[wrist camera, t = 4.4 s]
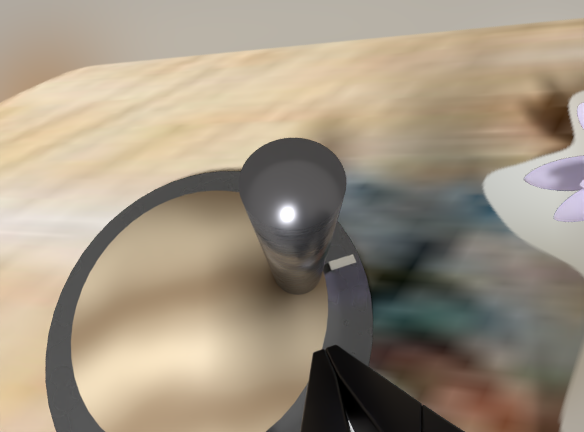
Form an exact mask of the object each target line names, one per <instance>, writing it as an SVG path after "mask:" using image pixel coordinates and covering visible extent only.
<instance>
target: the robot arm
mask: <svg viewBox="0 0 584 432" xmlns="http://www.w3.org/2000/svg"><path fill="white" fill-rule="evenodd" d="M347 417H348V418H347ZM348 419H349V421H350V423H351V425H352V427H353V429H354V431H355V432H465V431H463V430H461V429H460V428H458V427H456V426H455V425H453V424H452V423H450V422H449V421H447V420H446V419H444V418H443V417H441V416H439V415H438V414H436V413H435V412H434V411H432V410H431V409H429V408H428V407H426V406H425V405H423V406H422V404H421V403H420V402H419V401H417V400H416V399H414V398H413V397H411V396H410V395H408V394H407V393H406V392H404V391H403V390H401V389H400V388H398V387H397V386H396V385H394V384H393V383H391V382H390V381H388V380H387V379H385V378H384V377H383V376H381V375H380V374H378V373H377V372H375V371H374V370H373V369H371V368H370V367H368V366H367V365H365V364H364V363H362V362H361V361H360V360H358V359H357V358H355V357H354V356H352V355H351V354H350V353H348V352H347V351H345V350H344V349H342V348H341V347H339V346H338V345H333V346H330V347H327V348H326V349H321V350H318V351H315V352H314V353H313V356H312V362H311V368H310V374H309V380H308V386H307V393H306V399H305V405H304V411H303V417H302V423H301V430H300V432H351V430H350V426H349V422H348Z"/></svg>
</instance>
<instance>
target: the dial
mask: <svg viewBox="0 0 584 432" xmlns="http://www.w3.org/2000/svg"><path fill="white" fill-rule="evenodd" d="M345 191H346V175H345V171H344V168H343V166H342V164H341V162H340V161H339V159H338V158H337V157H336V155H335V154H334V153H333V152H332V151H330V150H329V149H328V148H326V147H325V146H323V145H321V144H319V143H317V142H315V141H312V140H308V139H303V138H284V139H279V140H275V141H272V142H270V143H267V144H265V145H264V146H262V147H260V148H259V149H257V150H256V151H255V152H254V153H253V154H252V155H251V156H250V157H249V158H248V159H247V160H246V162H245V164H244V165H243V167H242V170H241V173H240V176H239V192H232V191H204V192H196V193H192V194H187V195H183V196H180V197H177V198H174V199H171V200H169V201H167V202H164V203H162V204H160V205H158V206H156V207H154V208H152V209H151V210H149V211H147V212H146V213H144V214H143V215H141V216H140V217H138V218H137V219H136V220H134V221H133V222H132V223H130V224H129V225H128V226H127V227H126V228H125V229H124V230H123V231H121V232H120V233H119V234H118V235H117V236H116V238H115V239H114V240H113V241H112V242H111V243H110V244H109V245H108V246H107V248H106V249H105V250H104V252H103V253H102V254H101V256H100V257H99V258H98V260H97V262H96V263H95V265H94V267H93V268H92V270H91V272H90V273H89V275H88V278H87V280H86V282H85V284H84V286H83V288H82V291H81V294H80V297H79V300H78V303H77V306H76V310H75V315H74V319H73V325H72V335H71V359H72V365H73V371H74V377H75V380H76V383H77V386H78V390H79V393H80V395H81V397H82V399H83V401H84V403H85V405H86V407H87V409H88V411H89V413H90V414H91V415H92V417H93V418H94V419H95V421H96V422H97V423H98V425H99V426H100V427H101V428H102V429H103V430H104V431H105V432H266V431H267V430H268V429H269V428H270V427H271V426H273V425H274V424H275V423H276V422H277V421H278V420H280V419H281V417H282V416H283V415H284V414H285V413H286V412H287V411H288V410H289V408H290V407H291V406H292V405H293V404H294V403H295V401H296V400H297V398H298V397H299V395H300V394H301V392H302V391H303V389H304V388H305V387H306V385H307V383H308V380H309V374H310V368H311V362H312V356H313V353H314V352H315V351H318V350H321V349H322V347H323V343H324V338H325V334H326V329H327V318H328V293H327V287H326V280H325V276H324V272H323V269H324V265H325V262H326V258H327V255H328V251H329V248H330V244H331V241H332V237H333V234H334V230H335V227H336V223H337V219H338V216H339V212H340V209H341V205H342V202H343V198H344V195H345Z"/></svg>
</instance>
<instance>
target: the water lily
mask: <svg viewBox="0 0 584 432" xmlns="http://www.w3.org/2000/svg"><path fill="white" fill-rule="evenodd" d="M577 116H578V119H579V122H580V124H581V126H582V128H583V129H584V102H583V103H581V104H579V105H578V107H577ZM524 181H525V182H527V183H529V184H531V185H533V186H536V187H539V188H543V189H549V190H557V191H575V190H579V191H578V192H576V193H575V194H573V195H572V196H570V197H569V198H568V199H567V200H565V201H564V202H563V203H562V204H561V205H560V207H559V208H558V209H557V210H556V212H555V214H554V219H555V220H557V221H564V222H576V221H584V155H583V156H576V157H570V158H565V159H560V160H556V161H553V162H550V163H547V164H544V165H542V166H540V167H538V168H536V169H534V170H533V171H531V172H530V173H528V174H527V175H526V176H525V177H524Z"/></svg>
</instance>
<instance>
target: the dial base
mask: <svg viewBox="0 0 584 432" xmlns="http://www.w3.org/2000/svg"><path fill="white" fill-rule="evenodd" d="M240 173H241V171H220V172H210V173H203V174H199V175H194V176H189V177H186V178H183V179H180V180H177V181H174V182H171V183H169V184H167V185H164V186H162V187H160V188H158V189H155V190H154V191H152V192H150V193H148V194H147V195H145V196H143V197H141V198H140V199H138V200H137V201H135V202H134V203H133V204H131V205H130V206H128V207H127V208H126V209H124V210H123V211H122V212H121V213H120V214H118V215H117V216H116V217H115V218H114V219H113V220H111V221H110V222H109V223H108V224H107V225H106V226H105V227H104V228H103V230H102V231H101V232H100V233H99V234H98V235H97V236H96V237H95V238H94V240H93V241H92V242H91V243H90V245H89V246H88V247H87V249H86V250H85V251H84V252H83V254H82V255H81V257H80V259H79V260H78V262H77V263H76V265H75V267H74V268H73V270H72V271H71V273H70V275H69V277H68V279H67V281H66V283H65V285H64V288H63V290H62V292H61V295H60V297H59V300H58V303H57V305H56V308H55V311H54V314H53V318H52V322H51V327H50V331H49V335H48V343H47V351H46V388H47V396H48V404H49V408H50V412H51V415H52V419H53V422H54V426H55V429H56V432H105V431H104V430H103V429H102V428H101V427H100V426H99V425H98V423H97V422H96V421H95V419H94V418H93V417H92V415H91V414H90V413H89V411H88V409H87V407H86V405H85V403H84V401H83V399H82V397H81V395H80V393H79V390H78V386H77V383H76V380H75V377H74V371H73V365H72V359H71V335H72V325H73V319H74V315H75V310H76V306H77V303H78V300H79V297H80V294H81V291H82V288H83V286H84V284H85V282H86V280H87V278H88V275H89V273H90V272H91V270H92V268H93V267H94V265H95V263H96V262H97V260H98V258H99V257H100V256H101V254H102V253H103V252H104V250H105V249H106V248H107V246H108V245H109V244H110V243H111V242H112V241H113V240H114V239H115V238H116V236H117V235H118V234H119V233H120V232H121V231H123V230H124V229H125V228H126V227H127V226H128V225H129V224H130V223H132V222H133V221H134V220H136V219H137V218H138V217H140V216H141V215H143V214H144V213H146V212H147V211H149V210H151V209H152V208H154V207H156V206H158V205H160V204H162V203H164V202H167V201H169V200H171V199H174V198H177V197H180V196H183V195H187V194H192V193H196V192H204V191H232V192H239V176H240ZM323 272H324V276H325V280H326V287H327V293H328V318H327V329H326V334H325V338H324V343H323V347H322V349H326V348H327V347H330V346H333V345H338V346H339V347H341V348H342V349H344V350H345V351H347V352H348V353H350V354H351V355H352V356H354V357H355V358H357V359H358V360H360V361H361V362H362V363H364V364H365V365H367V366H369V360H370V354H371V348H372V335H373V314H372V303H371V295H370V291H369V286H368V282H367V277H366V274H365V271H364V268H363V266H362V263H361V260H360V257H359V255H358V253H357V251H356V249H355V247H354V245H353V243H352V241H351V240H350V238H349V237H348V235H347V234H346V232H345V231H344V229H343V228H342V226H341V225H340V224H339V222H338V221H337V223H336V227H335V230H334V234H333V237H332V241H331V244H330V248H329V251H328V255H327V258H326V262H325V265H324V269H323ZM307 386H308V383H307V385H306V387H305V388H304V389H303V391H302V392H301V394H300V395H299V397H298V398H297V400H296V401H295V403H294V404H293V405H292V406H291V407H290V408H289V410H288V411H287V412H286V413H285V414H284V415H283V416H282V417H281V419H280V420H278V421H277V422H276V423H275V424H274V425H273V426H271V427H270V428H269V429H268V430H267V431H266V432H300V430H301V423H302V417H303V411H304V405H305V399H306V393H307ZM347 418H348V417H347ZM348 420H349V419H348Z"/></svg>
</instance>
